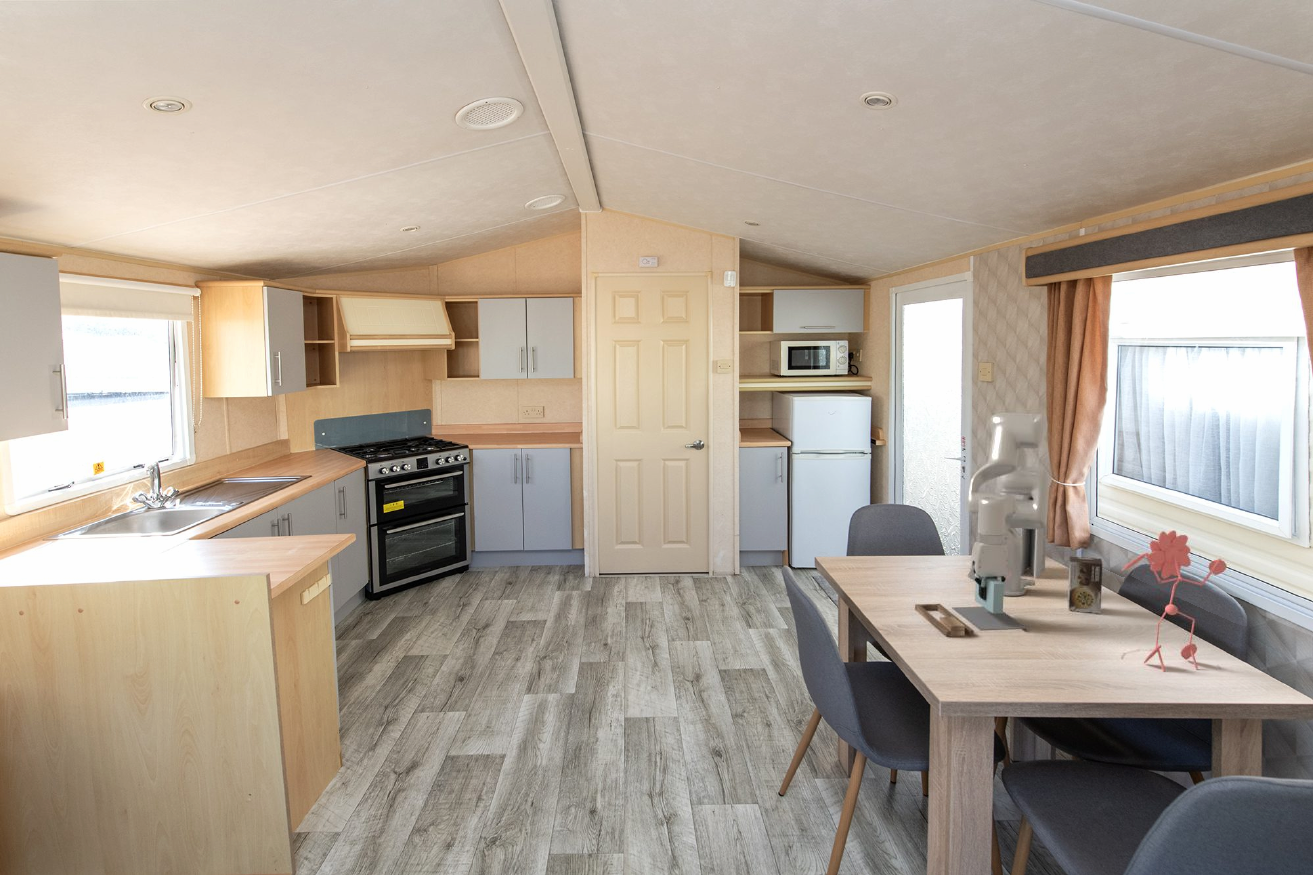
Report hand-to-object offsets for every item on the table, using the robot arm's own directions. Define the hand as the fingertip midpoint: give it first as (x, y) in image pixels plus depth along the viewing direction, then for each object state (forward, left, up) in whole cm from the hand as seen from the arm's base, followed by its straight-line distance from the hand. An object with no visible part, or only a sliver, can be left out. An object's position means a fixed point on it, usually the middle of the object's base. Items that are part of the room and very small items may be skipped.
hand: (988, 597), depth 248 cm
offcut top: (+16, +10, -5) cm, 19 cm away
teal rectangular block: (0, 0, -3) cm, 3 cm away
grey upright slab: (-39, -48, -7) cm, 62 cm away
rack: (+15, +2, -7) cm, 17 cm away
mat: (0, 0, -7) cm, 7 cm away
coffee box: (-34, -7, -7) cm, 35 cm away
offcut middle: (+16, +10, -6) cm, 20 cm away
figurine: (-31, +34, -7) cm, 47 cm away
